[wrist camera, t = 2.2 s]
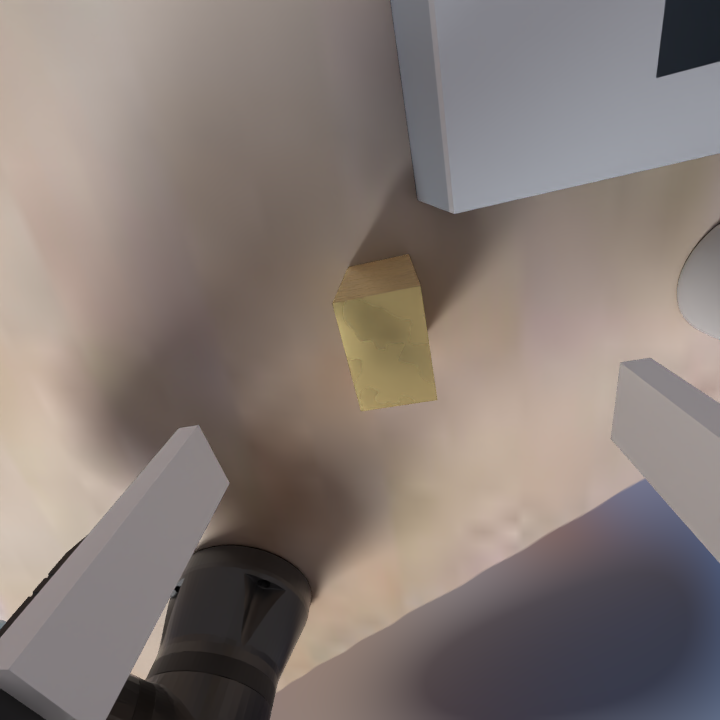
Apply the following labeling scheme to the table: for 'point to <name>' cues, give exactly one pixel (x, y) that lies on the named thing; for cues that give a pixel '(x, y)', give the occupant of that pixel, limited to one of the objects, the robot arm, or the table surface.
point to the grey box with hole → (553, 92)
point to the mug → (702, 286)
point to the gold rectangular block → (385, 334)
